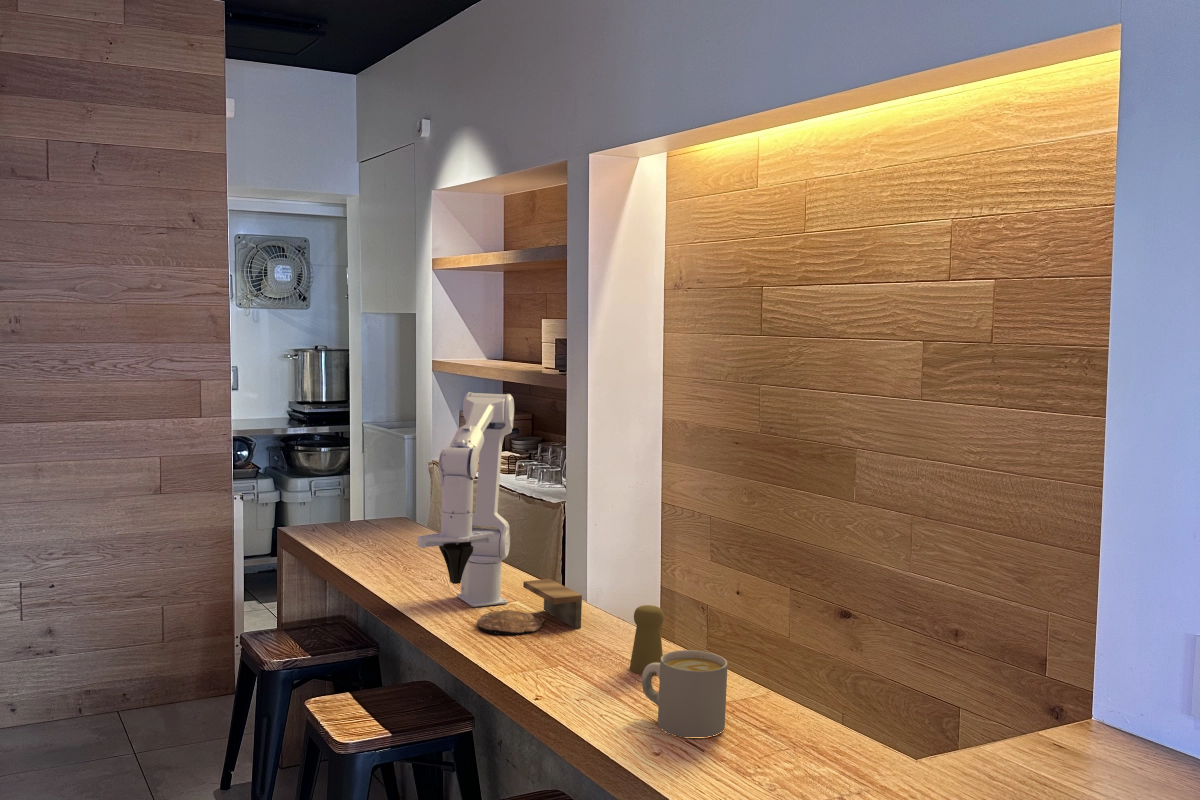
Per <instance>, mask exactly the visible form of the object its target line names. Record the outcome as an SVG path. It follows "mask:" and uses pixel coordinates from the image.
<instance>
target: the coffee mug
mask: <svg viewBox="0 0 1200 800" xmlns="http://www.w3.org/2000/svg"><path fill="white" fill-rule="evenodd" d="M653 673H657V674H656V675H657V676H658V679H659V682H658V683H659V687H658V691H656V690H655V688H654V687H653V684H652V683H653V682H652V677H653V675H652V674H653ZM727 683H728V661H727V659H725V658H724V657H723V656H721V655H718V654H716V653H712V652H708V651H704V650H703V651H702V650H695V649H694V650H693V649H685V650H682V649H681V650H674V651H669V652H666V653H663V656H662V657H661V660H660V663H651V664H649V665H647V666H646V667H645V669H644V671H643V675H642V674H641V687H642V691H643V693H644V695H645V697H646V698H648V699H649V701H651V702H652V703H654V704H655V705H656V706H657V708H658V711H657V713H658V714H657V726H659V727H660V728H661V729H663V730H664V731H666V732H667V733H670V734H673V735H676V736H681V737H708V736H713V735H716V734H718V733H720V732H722V731H723V730H724V728H725V729H726V711H727V710H726V707H727V704H726V703H727V686H728V684H727ZM659 727H658V728H659ZM660 728H659V729H660ZM661 729H660V730H661ZM664 731H663V732H664ZM724 731H725V730H724ZM667 733H666V734H667ZM670 734H669V735H670ZM676 736H675V737H676Z"/></svg>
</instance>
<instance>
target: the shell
mask: <svg viewBox="0 0 1200 800" xmlns="http://www.w3.org/2000/svg"><path fill="white" fill-rule="evenodd" d="M544 621H545V620H544V618H543V617H537V616H534V615H533V614H530V613H527V612H522V611H518V610H513V609H511V610H510V609H504V610H494V611H489V612H487V613H485V614H483V615H481V616H480V617H479V618H478V620H477V621H476V626H477V625H478V626H477V627H478V629H479V631H481V632H484V633H486V632H487V633H486V634H489V633H491V634H490V635H493V634H498V635H503V636H504V635H511V636H514V637H515V636H516V635H520V636H523V634H524V635H531V633H532V634H533V632H534V633H537V632H538V631H540V630H542V628H541V627H543V624H544ZM539 629H540V630H539ZM537 630H538V631H537ZM536 631H537V632H536Z"/></svg>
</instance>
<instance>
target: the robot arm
mask: <svg viewBox="0 0 1200 800" xmlns="http://www.w3.org/2000/svg"><path fill="white" fill-rule="evenodd" d="M462 415H463V418H464V420H465V424H464V425H462V426H460V427H459V428H458V429H457V430H456V432H455V434H454V436H453V438H452V440H451V442H450V445H449V446H446V447H445V449H441V451H440V453H439V457H438V473H439V485H440V487H441V493H442V494H441V521H440V522H441V524H440V525H441V527H440V528H441V529H440V531H441V532H438V533H437V532H436V533H431V534H423V535H417V547H418V548H420V549H426V548H429V547H438V548H439V550H440V552H441V555H442V556H443V559H444V562H445V565H446V568H447V573H448V577H449V583H452V584H453V585H458V584H459V585H460V593H457V594H456V597H457V598H458V599H460V600H461V601H463V602H465V603H466V604H468V605H469V606H470V607H473V608H476V607H486V606H495V605H496V606H497V605H505V604H508V600H507V599H505V598H504V597H502V596H501V595H502V594H501V593H502V587H501V586H502V561H503V560H505V559H506V558H507V557H508V556H509V553H510V546H511V534H510V528H511V527H510V524H509V522H508V521H507V520H506V519H505V518H504V517H503V516H501V514H499V513H498V507H499V495H500V493H499V492H500V480H501V469H502V468H501V467H502V466H501V465H502V451H503V448H502V447H503V443H504V438H505V436H508V435H509V434H511V433H512V432H513V431H512V430H513V428H514V418H515V401H514V397H513V396H512V394H510V393H506V394H505V393H503V394H502V393H481V392H471V391H468V392H467V393H466V394H465V396H464V398H463V402H462ZM476 477H477V483H476V485H477V487H476V498H475V499H476V500H475V511H474V513H473V509H474V508H473V507H474V506H473V505H474V503H473V501H474V479H475V478H476ZM477 526H478V527H477ZM481 527H491V528H481ZM492 527H493V528H492Z"/></svg>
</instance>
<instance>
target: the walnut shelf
mask: <svg viewBox="0 0 1200 800" xmlns="http://www.w3.org/2000/svg"><path fill="white" fill-rule="evenodd" d="M522 583H523V585H522V586H523V587H522V588H524V589H525V590H528V591H530V592H531V593H533V594H535V595H536V596H539V597H540V598H542V599H543V611H544V610H545V611H544V612H546V613H547V612H548V614H549V613H550V614H549V615H551V614H552V615H551V616H553V615H554V616H555V617H554V616H553V617H554V618H556V617H557V618H556V619H558V618H559V619H560V620H559V619H558V620H559V621H561V620H562V621H561V622H563V621H564V622H563V623H565V622H566V623H567V625H568V624H569V625H568V626H570V627H571V628H574V629H581V628H582V606H583V605H582V604H583V599H582V598H583V594H580V593H579V592H576V591H574V590H573V589H570V588H569V587H566V586H565V585H563V584H561V583H559V582H557V581H554V580H553V579H551V578H546V579H536V580H534V579H533V580H526V581H525V580H524V581H523V582H522ZM566 623H565V624H566Z"/></svg>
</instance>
